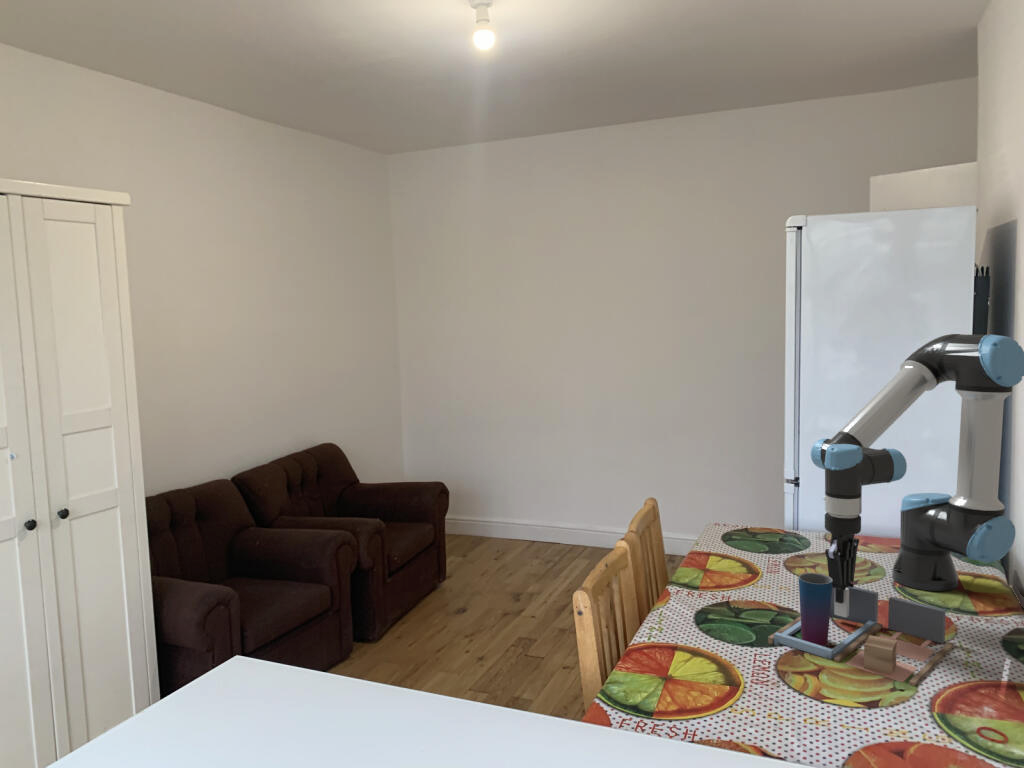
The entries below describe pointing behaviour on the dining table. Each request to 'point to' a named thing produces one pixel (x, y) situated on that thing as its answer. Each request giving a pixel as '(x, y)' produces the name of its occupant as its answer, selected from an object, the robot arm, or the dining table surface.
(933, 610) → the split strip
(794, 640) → the frame
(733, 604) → the dining table surface
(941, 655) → the lane guides
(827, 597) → the cup
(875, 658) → the walnut cube
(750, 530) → the dining table surface
